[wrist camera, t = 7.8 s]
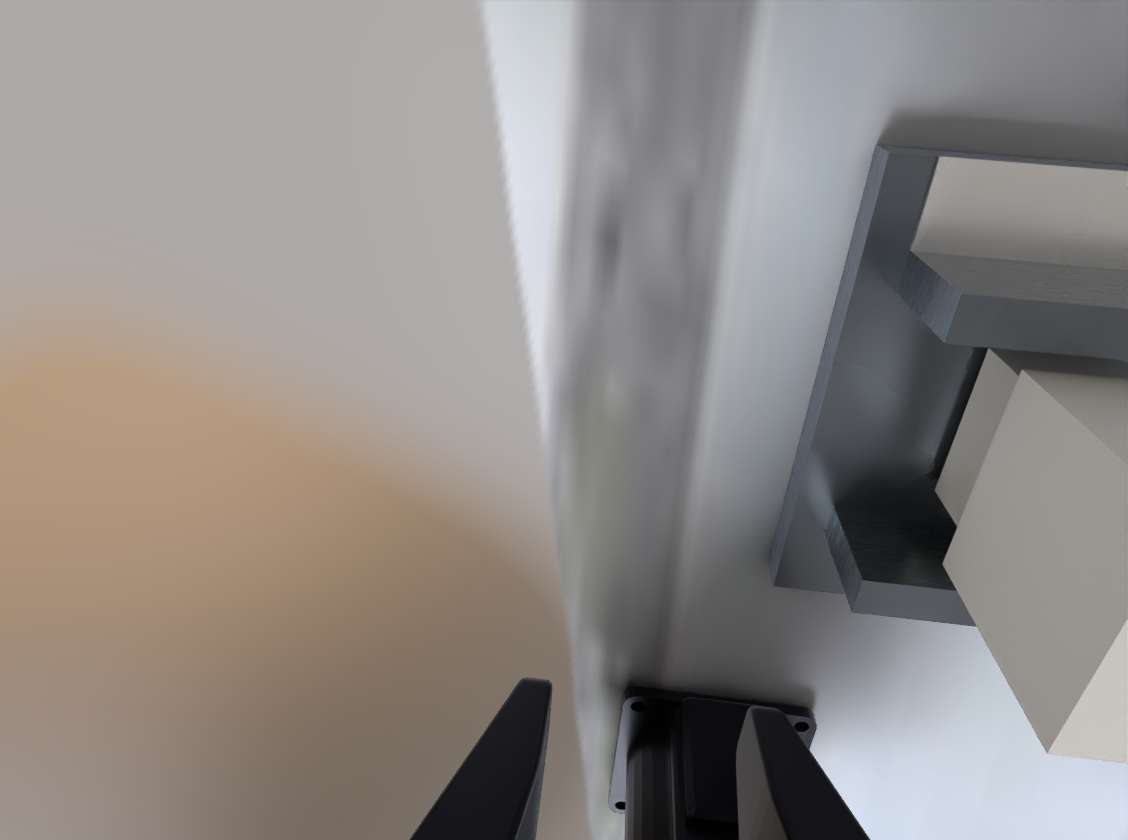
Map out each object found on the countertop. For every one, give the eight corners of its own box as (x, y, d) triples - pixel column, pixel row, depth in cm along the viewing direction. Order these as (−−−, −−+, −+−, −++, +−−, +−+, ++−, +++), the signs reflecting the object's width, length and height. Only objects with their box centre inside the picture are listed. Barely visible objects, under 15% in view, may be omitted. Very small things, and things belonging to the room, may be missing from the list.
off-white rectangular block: (1046, 518, 19) (1259, 779, 12) (908, 504, 19) (1047, 753, 12) (1132, 340, 16) (1454, 548, 10) (973, 325, 16) (1187, 519, 10)
